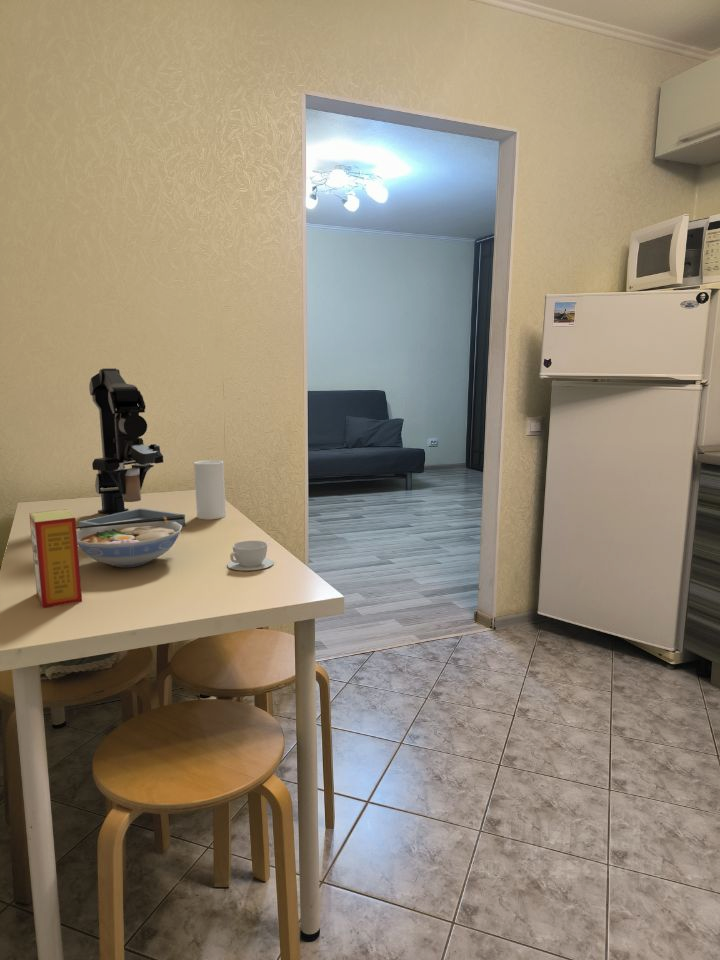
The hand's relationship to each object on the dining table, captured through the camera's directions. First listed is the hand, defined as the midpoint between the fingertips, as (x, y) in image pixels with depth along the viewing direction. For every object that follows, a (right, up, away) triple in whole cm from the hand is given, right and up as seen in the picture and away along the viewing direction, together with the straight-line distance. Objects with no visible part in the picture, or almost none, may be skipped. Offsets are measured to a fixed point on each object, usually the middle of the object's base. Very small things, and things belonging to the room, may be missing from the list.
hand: (131, 492), depth 175 cm
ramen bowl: (+11, -15, -31) cm, 36 cm away
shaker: (0, -2, 0) cm, 2 cm away
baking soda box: (+5, -19, -52) cm, 56 cm away
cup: (+18, -7, +16) cm, 25 cm away
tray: (0, -10, +1) cm, 10 cm away
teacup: (+37, -15, -33) cm, 52 cm away
